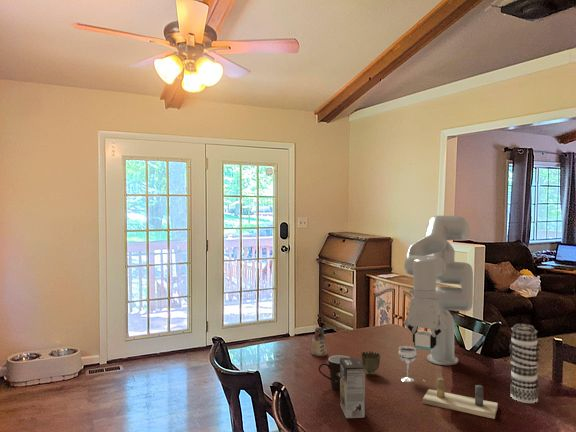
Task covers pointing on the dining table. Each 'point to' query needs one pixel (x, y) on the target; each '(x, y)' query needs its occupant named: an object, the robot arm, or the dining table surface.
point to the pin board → (461, 401)
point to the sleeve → (423, 340)
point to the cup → (370, 362)
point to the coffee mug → (334, 370)
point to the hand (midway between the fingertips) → (424, 345)
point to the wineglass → (407, 358)
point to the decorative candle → (524, 363)
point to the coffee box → (352, 387)
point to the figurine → (319, 343)
